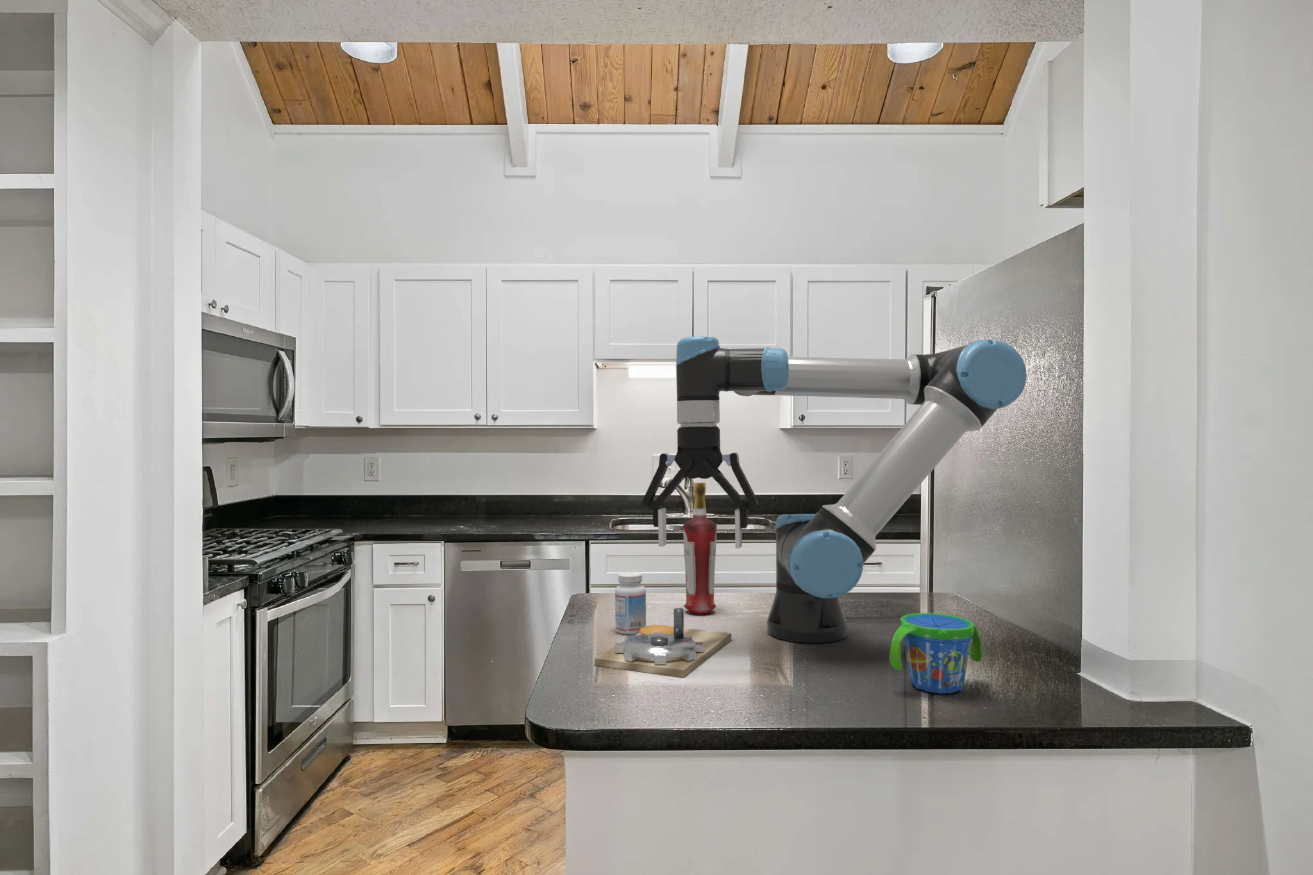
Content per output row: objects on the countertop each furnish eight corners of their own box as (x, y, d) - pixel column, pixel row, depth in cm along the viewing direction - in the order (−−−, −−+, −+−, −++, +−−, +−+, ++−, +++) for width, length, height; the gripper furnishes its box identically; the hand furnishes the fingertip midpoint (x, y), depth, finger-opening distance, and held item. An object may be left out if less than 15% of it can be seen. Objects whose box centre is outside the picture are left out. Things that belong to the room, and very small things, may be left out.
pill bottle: (647, 627, 150) (647, 571, 150) (644, 635, 144) (643, 577, 144) (617, 626, 151) (617, 570, 151) (612, 635, 145) (612, 576, 145)
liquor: (680, 608, 166) (680, 481, 166) (713, 607, 167) (713, 481, 167) (685, 616, 159) (685, 484, 159) (720, 615, 160) (719, 483, 160)
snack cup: (960, 672, 121) (960, 609, 121) (1004, 694, 111) (1004, 625, 111) (872, 680, 118) (872, 615, 118) (909, 703, 107) (909, 632, 107)
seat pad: (682, 629, 144) (682, 627, 144) (667, 638, 138) (667, 636, 138) (649, 625, 147) (649, 623, 147) (633, 634, 141) (633, 632, 141)
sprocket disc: (660, 670, 119) (660, 630, 119) (597, 652, 129) (597, 614, 129) (721, 650, 129) (720, 613, 129) (658, 634, 140) (657, 600, 140)
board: (731, 639, 141) (731, 633, 141) (683, 677, 119) (683, 670, 119) (653, 630, 148) (653, 624, 148) (594, 665, 126) (594, 658, 126)
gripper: (771, 424, 133) (773, 544, 133) (635, 426, 139) (637, 541, 139) (767, 424, 126) (769, 551, 126) (624, 426, 132) (626, 547, 132)
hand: (700, 546), depth 132 cm, fingers open, 13 cm apart
